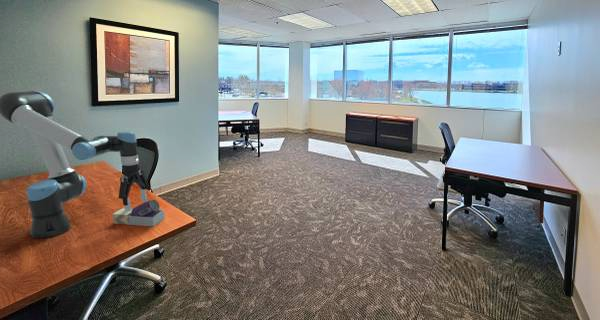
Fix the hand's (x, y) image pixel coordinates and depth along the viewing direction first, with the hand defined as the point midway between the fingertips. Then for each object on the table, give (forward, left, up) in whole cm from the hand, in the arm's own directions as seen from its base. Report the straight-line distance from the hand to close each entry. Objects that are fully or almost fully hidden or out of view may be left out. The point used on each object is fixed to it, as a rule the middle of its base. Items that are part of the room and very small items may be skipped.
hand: (136, 206), depth 161 cm
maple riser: (-6, 0, -8) cm, 10 cm away
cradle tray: (+5, 0, -8) cm, 9 cm away
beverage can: (0, -1, -4) cm, 4 cm away
